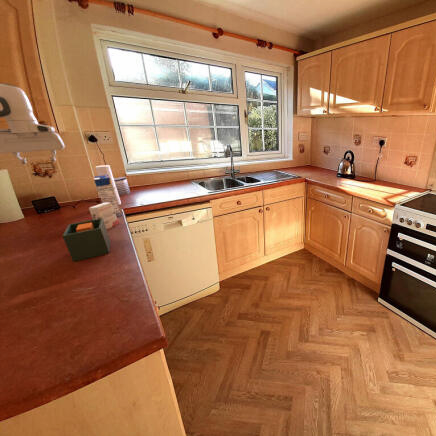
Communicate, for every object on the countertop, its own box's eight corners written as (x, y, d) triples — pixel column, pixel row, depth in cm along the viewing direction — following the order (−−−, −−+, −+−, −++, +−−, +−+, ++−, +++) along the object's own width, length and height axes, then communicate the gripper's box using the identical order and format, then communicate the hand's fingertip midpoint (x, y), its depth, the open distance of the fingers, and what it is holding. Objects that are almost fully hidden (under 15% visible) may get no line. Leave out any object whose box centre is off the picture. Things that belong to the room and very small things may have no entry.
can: (119, 196, 176) (114, 180, 172) (109, 195, 180) (104, 179, 176) (134, 192, 186) (129, 176, 182) (124, 191, 190) (119, 176, 186)
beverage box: (107, 218, 135) (94, 179, 126) (106, 213, 143) (93, 176, 134) (121, 215, 139) (109, 177, 130) (119, 210, 147) (108, 174, 138)
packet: (84, 252, 97) (75, 229, 94) (86, 246, 102) (78, 224, 98) (98, 249, 100) (90, 226, 96) (99, 243, 104) (91, 222, 101)
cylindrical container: (106, 205, 158) (93, 166, 148) (118, 202, 163) (106, 164, 154) (110, 207, 154) (97, 167, 145) (123, 203, 159) (111, 165, 150)
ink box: (111, 223, 128) (104, 201, 124) (119, 223, 127) (112, 202, 123) (96, 230, 121) (87, 207, 116) (104, 230, 120) (96, 207, 115)
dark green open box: (73, 261, 93) (62, 236, 89) (78, 248, 103) (68, 224, 99) (109, 252, 99) (100, 228, 94) (110, 240, 109) (102, 218, 105)
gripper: (-15, 129, 93) (2, 165, 98) (55, 127, 103) (67, 160, 108) (-8, 129, 98) (8, 164, 103) (58, 127, 108) (70, 158, 113)
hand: (39, 162), depth 106 cm, fingers open, 8 cm apart
